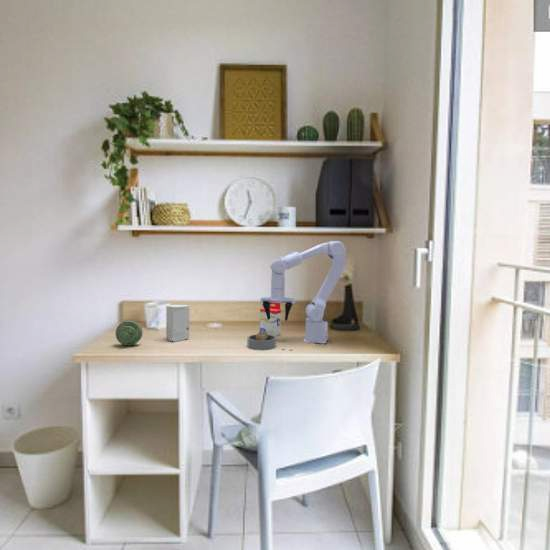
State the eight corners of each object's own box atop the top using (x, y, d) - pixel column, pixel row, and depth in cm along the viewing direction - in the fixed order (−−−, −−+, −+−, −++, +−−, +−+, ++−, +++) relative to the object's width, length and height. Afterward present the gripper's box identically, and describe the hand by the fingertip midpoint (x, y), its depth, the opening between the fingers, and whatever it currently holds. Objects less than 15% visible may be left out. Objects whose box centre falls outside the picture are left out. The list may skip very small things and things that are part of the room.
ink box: (259, 334, 189) (259, 302, 188) (264, 332, 194) (264, 301, 192) (275, 336, 185) (276, 304, 184) (280, 334, 190) (281, 302, 188)
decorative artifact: (142, 344, 169) (142, 320, 168) (137, 348, 162) (137, 323, 161) (117, 344, 169) (117, 320, 168) (111, 348, 162) (111, 323, 161)
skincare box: (172, 342, 173) (172, 307, 172) (165, 339, 177) (165, 305, 176) (190, 339, 179) (189, 305, 177) (182, 336, 183) (182, 303, 182)
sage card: (296, 350, 163) (296, 348, 163) (294, 353, 158) (294, 352, 158) (279, 348, 165) (279, 347, 165) (276, 352, 160) (276, 350, 160)
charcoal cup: (278, 344, 171) (278, 335, 171) (272, 351, 160) (272, 341, 160) (252, 342, 173) (252, 333, 173) (244, 349, 162) (244, 339, 162)
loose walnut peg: (268, 343, 170) (268, 331, 170) (266, 346, 167) (266, 333, 166) (259, 343, 171) (259, 331, 171) (257, 345, 168) (257, 333, 167)
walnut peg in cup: (265, 346, 166) (265, 334, 165) (263, 348, 162) (263, 336, 162) (257, 345, 167) (257, 333, 166) (254, 348, 163) (254, 335, 163)
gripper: (258, 288, 172) (258, 320, 173) (293, 289, 169) (292, 322, 170) (263, 286, 179) (262, 317, 180) (296, 287, 176) (295, 319, 177)
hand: (277, 319), depth 176 cm, fingers open, 7 cm apart
